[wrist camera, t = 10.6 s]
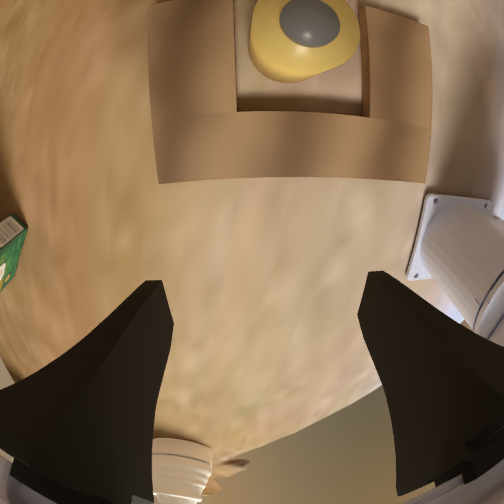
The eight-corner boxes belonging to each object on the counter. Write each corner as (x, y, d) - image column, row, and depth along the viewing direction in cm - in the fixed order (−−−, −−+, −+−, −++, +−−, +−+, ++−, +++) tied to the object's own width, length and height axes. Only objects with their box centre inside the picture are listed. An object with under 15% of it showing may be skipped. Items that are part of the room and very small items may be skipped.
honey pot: (152, 449, 45) (143, 516, 29) (147, 432, 38) (135, 515, 23) (209, 459, 46) (206, 526, 31) (216, 444, 40) (213, 528, 25)
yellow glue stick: (320, 23, 12) (360, -11, 6) (322, 85, 14) (365, 76, 8) (248, 18, 12) (252, -25, 6) (248, 82, 14) (253, 66, 8)
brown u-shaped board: (419, 29, 11) (428, 26, 10) (416, 178, 17) (425, 183, 16) (154, 10, 11) (149, 5, 10) (164, 179, 17) (158, 183, 16)
